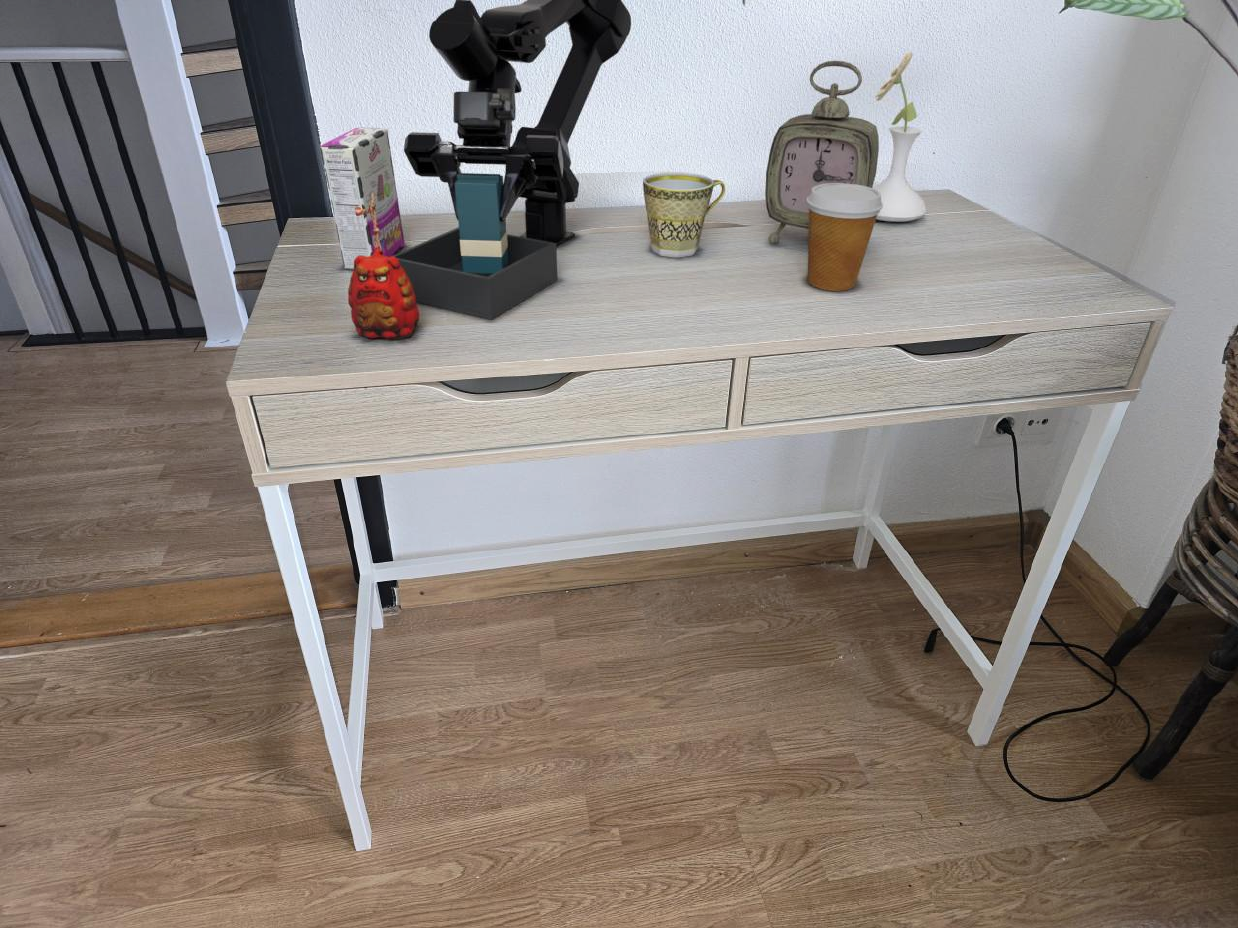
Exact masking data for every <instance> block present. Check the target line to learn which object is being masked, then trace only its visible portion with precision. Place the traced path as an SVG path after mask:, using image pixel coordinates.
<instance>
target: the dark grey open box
mask: <svg viewBox="0 0 1238 928" xmlns="http://www.w3.org/2000/svg"><path fill="white" fill-rule="evenodd" d="M520 236H521V235H513V234H509V233H507V241H508V247H507V249H508V265H507V267H505V268H503V269H502V270H500V271H498V272H496V273H494V274H483V273H466V272H463V264H462V256H461V249H460V233H459V226H458V227H456V228H453V229H451V230H449V231H447V232H444V233H442V234H439V235H437V236H435V237H432V238H430V239H427V240H425V241H423V242H421V243H418V244H417V245H413V246H412V247H409V248H407V249H404V250H402V251H400V252H396V253H395V254H394V255H393V256H394V257H396V258H398V261H399V265H400V266H401V267H402V268H403V269H404V271H405V273H406V274H407V276H408V278H409V280H410V282H411V284H412V287H413V289H414V293H415V299H416V303H418V304H421V305H422V304H423V305H427V306H430V307H431V306H432V307H435V308H439V309H444V310H449V311H451V312H452V311H453V312H457V313H460V314H465V315H470V316H473V317H478V318H482V319H487V320H491V321H492V320H494V319H496V318H498V317H499V316H501V315H502V314H504V313H506V312H507V311H509V310H511V309H512V308H514V307H516V306H517V305H519V304H521V303H522V302H524V301H526V300H527V299H529V298H531V297H532V296H534V295H536V294H538V293H539V292H541V291H542V290H544V289H546V288H548V287H549V286H551V285H553V284H554V283H556V282H557V281H558V261H557V260H558V257H557V256H558V254H557V246H556V243H552V242H547V241H541V240H536V239H530V238H525V237H520ZM393 256H391V257H393Z"/></svg>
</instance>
